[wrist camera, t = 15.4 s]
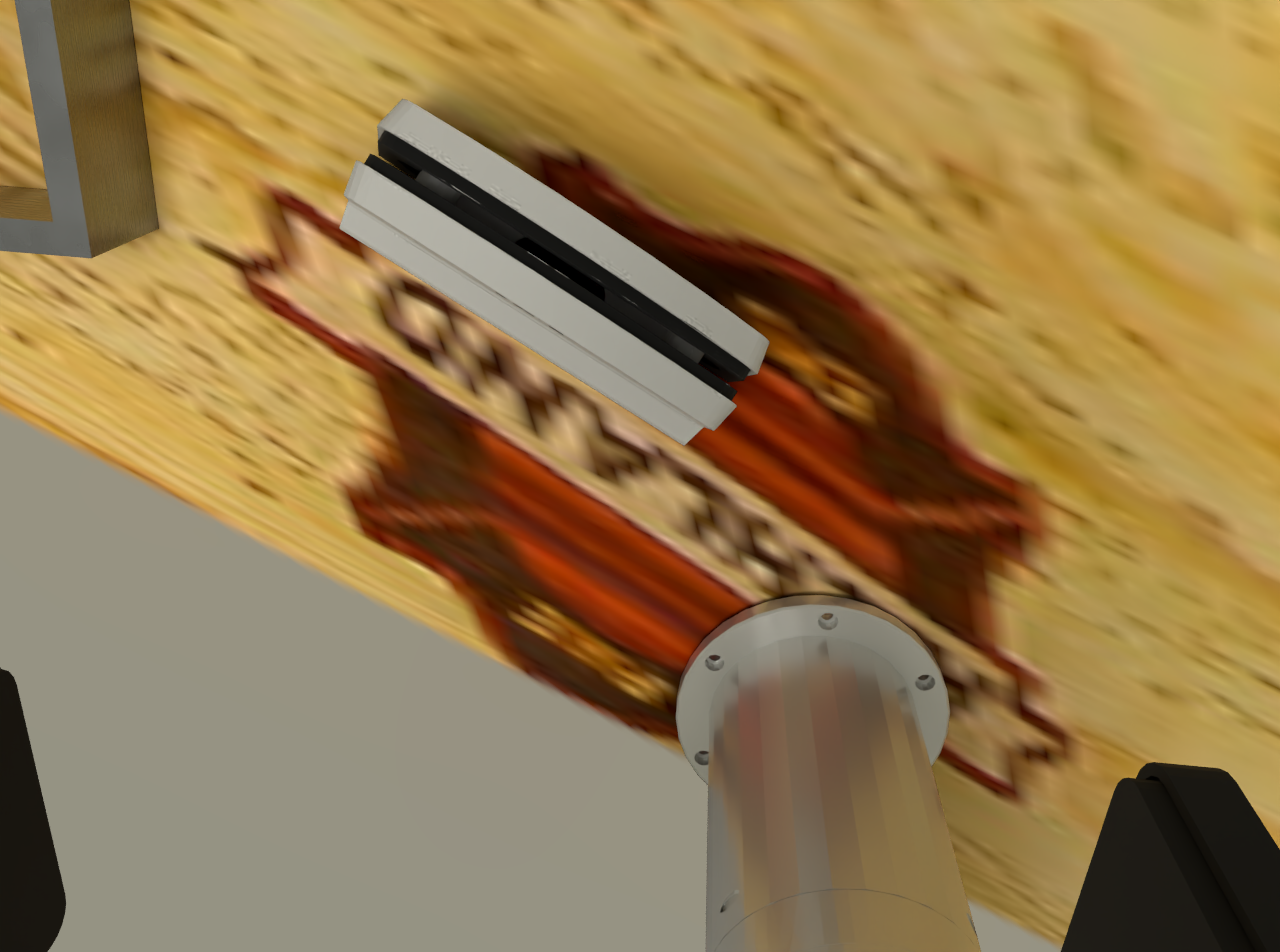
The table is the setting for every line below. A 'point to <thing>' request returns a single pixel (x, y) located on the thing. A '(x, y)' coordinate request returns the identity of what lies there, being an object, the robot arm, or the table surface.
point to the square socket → (82, 133)
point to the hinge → (548, 274)
